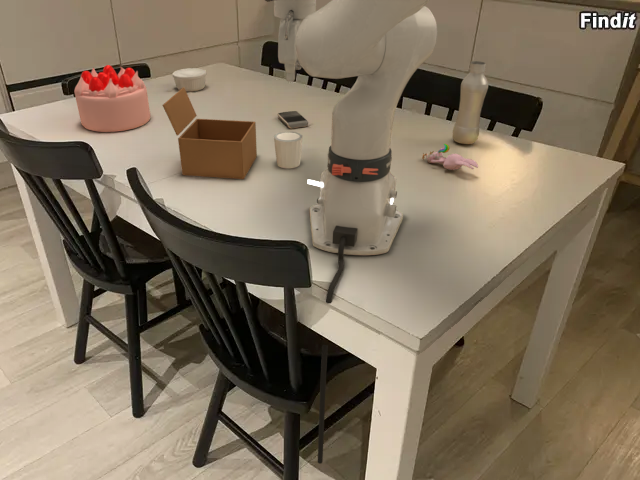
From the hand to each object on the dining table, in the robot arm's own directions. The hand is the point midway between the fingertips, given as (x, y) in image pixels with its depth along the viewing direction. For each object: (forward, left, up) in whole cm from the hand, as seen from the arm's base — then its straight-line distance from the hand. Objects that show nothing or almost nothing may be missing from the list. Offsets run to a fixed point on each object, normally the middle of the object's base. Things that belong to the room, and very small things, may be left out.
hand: (294, 74), depth 125 cm
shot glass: (-1, +1, -21) cm, 21 cm away
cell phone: (+29, +5, -21) cm, 37 cm away
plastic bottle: (+20, -42, -21) cm, 51 cm away
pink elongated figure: (+2, -37, -21) cm, 42 cm away
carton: (-4, +17, -21) cm, 28 cm away
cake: (+22, +56, -21) cm, 64 cm away
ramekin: (+58, +45, -21) cm, 77 cm away
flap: (-4, +26, -8) cm, 27 cm away
